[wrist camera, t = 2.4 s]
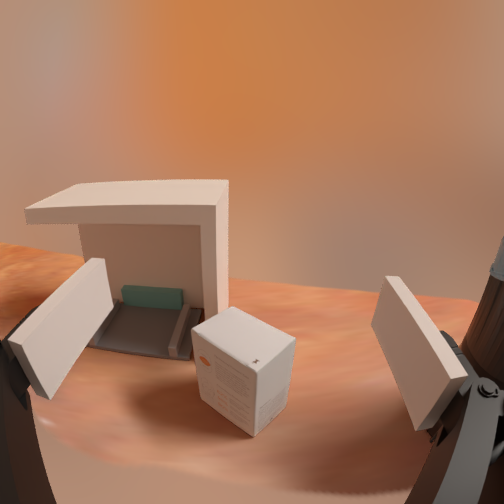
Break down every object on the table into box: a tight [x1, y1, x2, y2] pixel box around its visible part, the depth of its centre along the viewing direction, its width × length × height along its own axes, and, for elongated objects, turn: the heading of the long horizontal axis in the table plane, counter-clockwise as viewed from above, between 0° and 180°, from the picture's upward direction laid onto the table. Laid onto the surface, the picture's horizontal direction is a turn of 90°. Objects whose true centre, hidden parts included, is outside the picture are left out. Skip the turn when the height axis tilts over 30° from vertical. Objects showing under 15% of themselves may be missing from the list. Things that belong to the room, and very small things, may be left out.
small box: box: [191, 306, 296, 437], centre depth 27 cm, size 8×6×10 cm
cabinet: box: [24, 180, 229, 361], centre depth 38 cm, size 14×24×20 cm, turn 89°
